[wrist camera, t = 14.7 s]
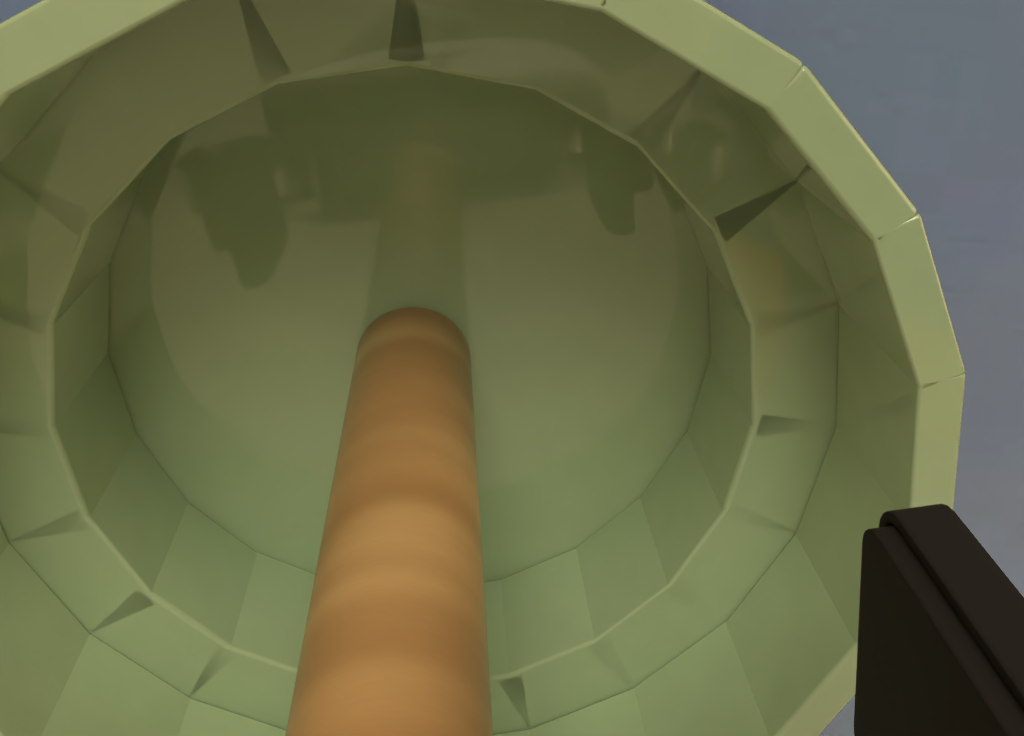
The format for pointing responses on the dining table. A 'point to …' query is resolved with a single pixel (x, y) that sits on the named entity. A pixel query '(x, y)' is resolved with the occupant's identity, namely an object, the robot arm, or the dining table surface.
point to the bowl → (490, 336)
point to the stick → (400, 549)
